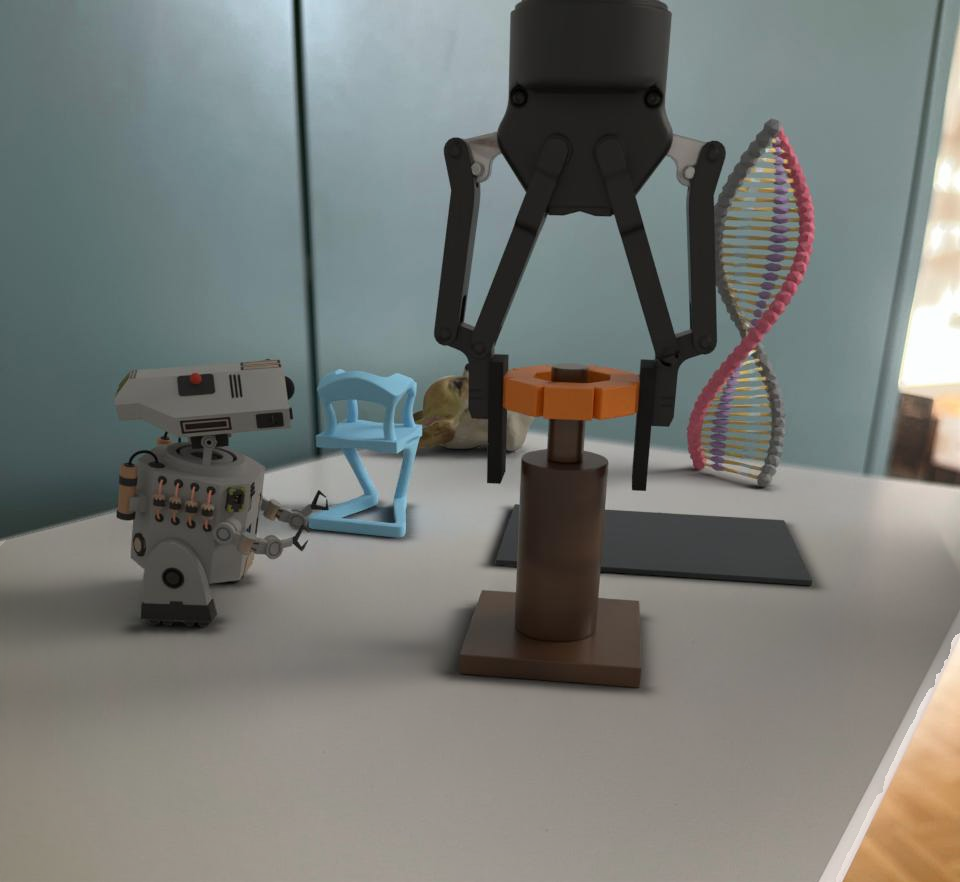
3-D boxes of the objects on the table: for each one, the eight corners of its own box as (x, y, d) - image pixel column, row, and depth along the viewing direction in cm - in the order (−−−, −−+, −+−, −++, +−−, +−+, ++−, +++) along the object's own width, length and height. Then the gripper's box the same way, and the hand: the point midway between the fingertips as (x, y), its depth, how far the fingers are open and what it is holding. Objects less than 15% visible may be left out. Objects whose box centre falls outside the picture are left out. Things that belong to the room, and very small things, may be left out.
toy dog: (536, 370, 96) (378, 373, 98) (537, 462, 100) (385, 463, 102) (543, 354, 106) (400, 357, 108) (544, 438, 109) (405, 439, 111)
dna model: (722, 461, 103) (763, 125, 91) (798, 481, 97) (853, 123, 85) (662, 474, 98) (697, 119, 85) (739, 496, 91) (788, 116, 79)
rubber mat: (783, 524, 84) (784, 519, 84) (811, 585, 72) (812, 580, 71) (514, 508, 87) (514, 503, 86) (495, 564, 74) (495, 559, 74)
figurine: (306, 633, 62) (293, 379, 56) (116, 625, 62) (84, 373, 56) (331, 579, 71) (323, 353, 64) (164, 573, 71) (140, 348, 65)
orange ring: (637, 395, 59) (639, 367, 58) (638, 422, 52) (641, 391, 51) (511, 390, 59) (511, 362, 59) (497, 416, 53) (497, 385, 52)
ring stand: (637, 617, 66) (662, 355, 59) (640, 687, 56) (669, 387, 50) (481, 606, 67) (488, 348, 60) (458, 673, 58) (463, 378, 51)
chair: (433, 508, 86) (433, 360, 81) (402, 538, 79) (400, 378, 74) (345, 499, 88) (341, 354, 83) (307, 528, 80) (299, 371, 75)
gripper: (361, -14, 46) (374, 489, 55) (828, -15, 44) (759, 509, 53) (395, 11, 53) (402, 455, 62) (800, 11, 50) (744, 471, 60)
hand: (566, 479), depth 57 cm, fingers closed on orange ring, 7 cm apart
